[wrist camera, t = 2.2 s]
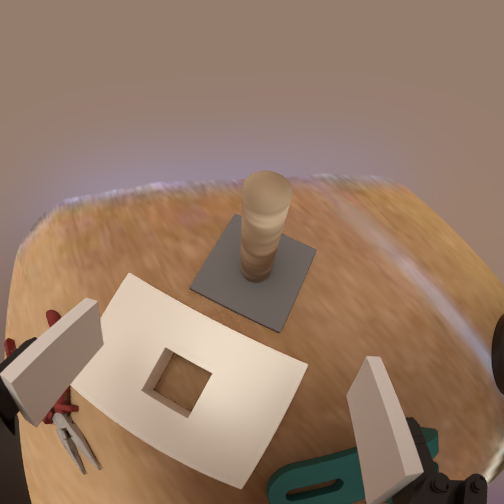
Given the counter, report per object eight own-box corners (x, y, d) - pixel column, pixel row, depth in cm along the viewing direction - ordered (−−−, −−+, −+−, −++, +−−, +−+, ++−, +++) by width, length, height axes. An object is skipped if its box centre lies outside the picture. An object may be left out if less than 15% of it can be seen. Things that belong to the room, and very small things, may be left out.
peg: (276, 262, 32) (299, 181, 19) (263, 287, 31) (280, 217, 18) (248, 249, 33) (255, 164, 20) (234, 274, 31) (233, 197, 19)
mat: (315, 251, 33) (316, 249, 33) (279, 333, 29) (280, 332, 28) (235, 215, 35) (235, 213, 35) (190, 289, 31) (189, 287, 30)
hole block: (299, 366, 27) (308, 364, 24) (241, 476, 21) (241, 489, 18) (140, 285, 30) (129, 272, 27) (84, 383, 25) (66, 382, 21)
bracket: (409, 425, 24) (450, 430, 17) (412, 469, 21) (450, 481, 14) (262, 467, 22) (271, 493, 15) (270, 513, 19) (279, 547, 12)
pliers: (67, 478, 18) (57, 483, 16) (10, 343, 25) (-1, 339, 23) (131, 457, 22) (123, 462, 19) (62, 310, 29) (51, 303, 26)
